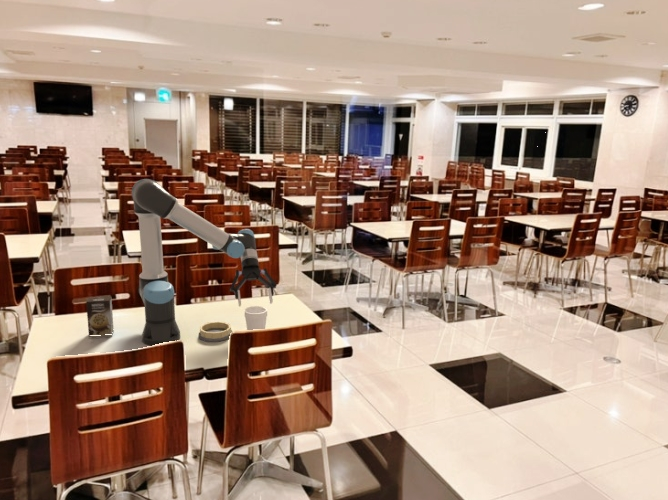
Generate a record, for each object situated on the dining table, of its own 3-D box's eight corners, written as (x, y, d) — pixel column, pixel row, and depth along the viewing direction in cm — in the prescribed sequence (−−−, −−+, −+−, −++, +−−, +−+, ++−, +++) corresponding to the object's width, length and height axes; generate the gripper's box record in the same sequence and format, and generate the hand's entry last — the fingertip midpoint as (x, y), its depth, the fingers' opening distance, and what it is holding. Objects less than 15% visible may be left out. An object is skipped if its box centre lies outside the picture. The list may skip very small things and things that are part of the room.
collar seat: (199, 343, 212) (199, 335, 211) (197, 330, 225) (197, 322, 224) (234, 340, 216) (234, 331, 216) (230, 327, 229) (230, 320, 229)
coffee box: (88, 338, 214) (85, 301, 210) (91, 333, 220) (88, 296, 216) (112, 337, 216) (109, 300, 213) (114, 331, 222) (111, 295, 219)
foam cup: (269, 335, 222) (269, 306, 219) (264, 344, 213) (264, 314, 210) (248, 334, 223) (247, 305, 220) (242, 342, 214) (241, 313, 211)
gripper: (275, 263, 240) (282, 304, 230) (221, 266, 232) (226, 310, 222) (278, 255, 234) (285, 297, 224) (222, 258, 226) (227, 302, 216)
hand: (255, 303), depth 223 cm, fingers open, 13 cm apart
